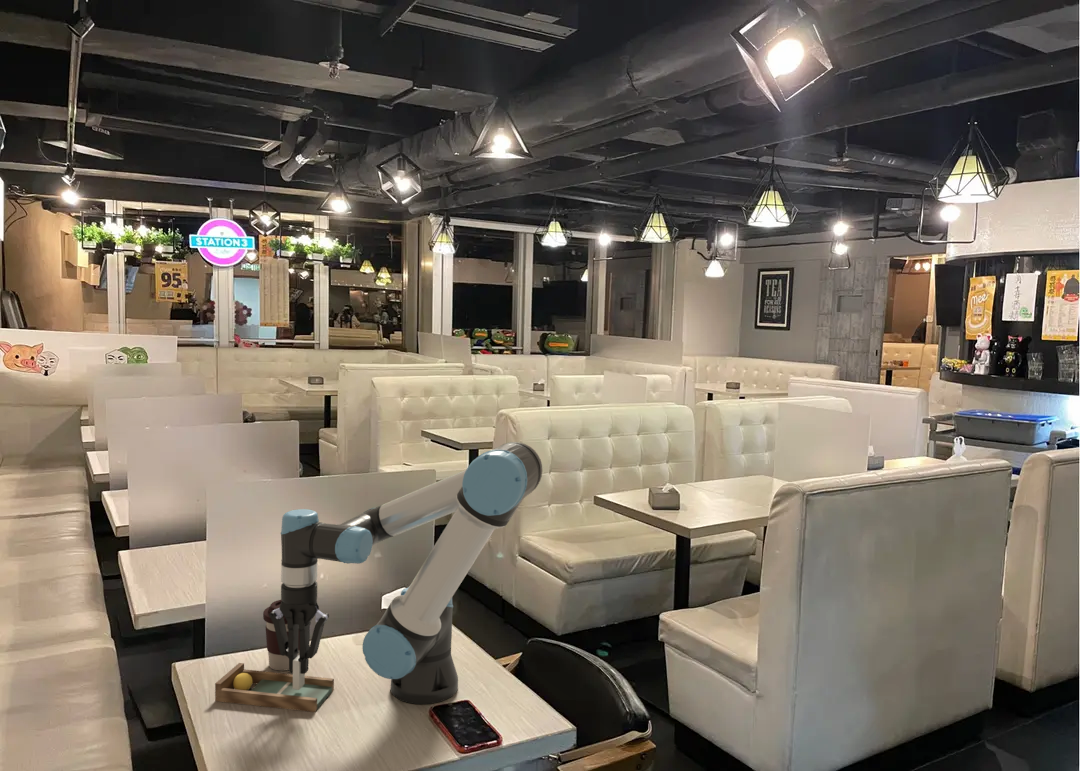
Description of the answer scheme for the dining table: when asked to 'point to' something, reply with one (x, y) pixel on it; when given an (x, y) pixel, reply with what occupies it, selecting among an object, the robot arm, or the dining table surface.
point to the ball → (243, 681)
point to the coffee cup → (272, 644)
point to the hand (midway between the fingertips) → (298, 686)
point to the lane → (274, 690)
